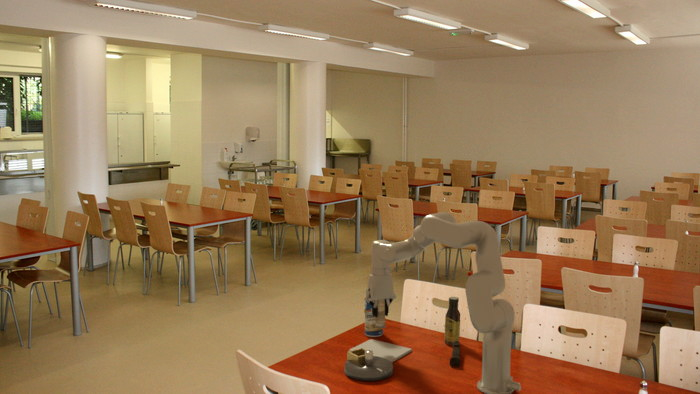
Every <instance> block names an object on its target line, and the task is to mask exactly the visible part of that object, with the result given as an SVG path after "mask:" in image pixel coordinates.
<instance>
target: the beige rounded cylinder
mask: <svg viewBox="0 0 700 394" xmlns="http://www.w3.org/2000/svg"><path fill="white" fill-rule="evenodd" d="M377 308H378V317H375V327H376V328H383V329H385V328H386V316H385V299H383V300H378V301H377Z"/></svg>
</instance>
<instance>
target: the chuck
mask: <svg viewBox="0 0 700 394" xmlns="http://www.w3.org/2000/svg"><path fill="white" fill-rule="evenodd" d="M346 355H347V356H346V357H347V358H346V361H345V362H344V374H345V375H346V376H347V377H349V378H351V379H354V380H358V381H363V382H373V381H374V382H375V381H381V380H382V381H383V380H385V379H387V378H389V377H392V375H393V374H394V364H393V362H391V361H390V360H388V359H385V358H382V357H378V356H373V351H371V350H365V349H363V348H360V349H356V350H352V351H349V350H348V351H347V353H346Z"/></svg>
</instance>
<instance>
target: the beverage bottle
mask: <svg viewBox="0 0 700 394" xmlns="http://www.w3.org/2000/svg"><path fill="white" fill-rule="evenodd" d="M365 292H366V293H365V295H366V296H367V290H366V291H365ZM366 296H365V297H366ZM369 300H370V301H372V299H371V298H370V299H369ZM363 312H364V335H365V336H366V337H369V338H377V337H378V338H379V337H381V336H383V334H384V328H376V327H375V317H374V316H373V315H372V306H371V305H370V304H369V303H368V302H366V301H364V311H363Z"/></svg>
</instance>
